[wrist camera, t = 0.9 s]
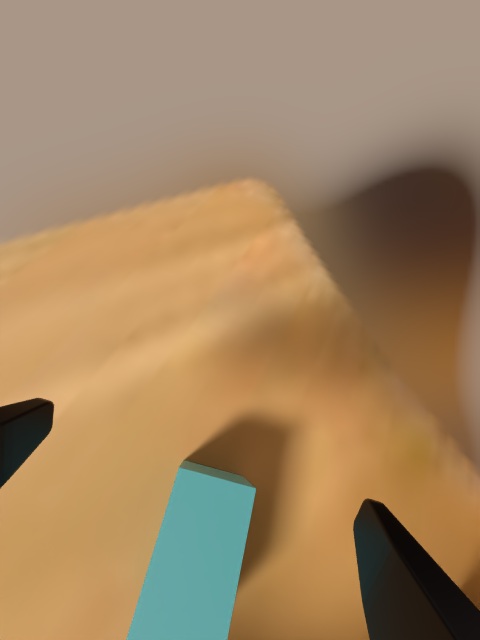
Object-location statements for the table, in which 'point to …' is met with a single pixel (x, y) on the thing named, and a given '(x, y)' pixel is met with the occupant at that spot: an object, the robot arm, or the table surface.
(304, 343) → the table surface
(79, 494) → the table surface
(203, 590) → the teal brick
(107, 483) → the table surface
